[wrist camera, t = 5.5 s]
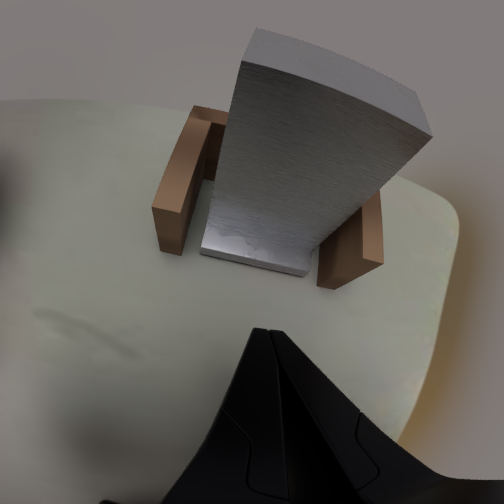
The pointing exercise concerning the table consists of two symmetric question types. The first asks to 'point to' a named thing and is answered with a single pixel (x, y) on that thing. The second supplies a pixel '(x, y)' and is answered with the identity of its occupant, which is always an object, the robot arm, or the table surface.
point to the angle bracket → (304, 150)
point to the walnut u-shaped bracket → (205, 166)
